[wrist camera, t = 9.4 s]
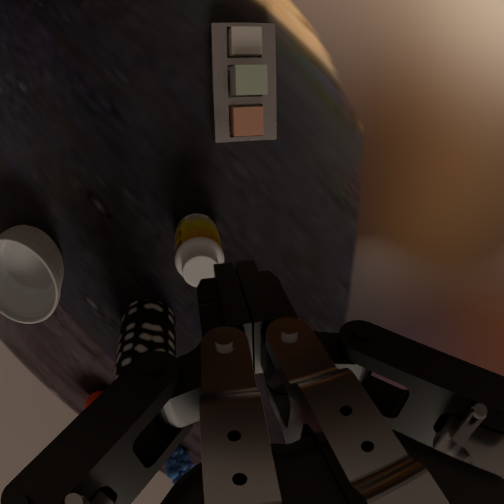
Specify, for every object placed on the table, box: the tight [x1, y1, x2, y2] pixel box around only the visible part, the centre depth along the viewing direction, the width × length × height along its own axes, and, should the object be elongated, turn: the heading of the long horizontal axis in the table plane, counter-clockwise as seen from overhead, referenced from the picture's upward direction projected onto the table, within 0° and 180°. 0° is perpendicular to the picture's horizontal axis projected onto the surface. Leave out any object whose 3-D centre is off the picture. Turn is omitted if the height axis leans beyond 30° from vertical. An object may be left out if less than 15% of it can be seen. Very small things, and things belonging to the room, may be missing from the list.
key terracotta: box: [229, 105, 264, 137], centre depth 34 cm, size 3×3×4 cm
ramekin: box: [0, 225, 64, 324], centre depth 36 cm, size 13×13×7 cm
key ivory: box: [227, 26, 262, 58], centre depth 30 cm, size 3×3×4 cm
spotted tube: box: [113, 299, 177, 381], centre depth 39 cm, size 8×8×20 cm
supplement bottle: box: [175, 213, 224, 287], centre depth 38 cm, size 6×6×10 cm
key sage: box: [230, 65, 268, 95], centre depth 30 cm, size 3×3×4 cm
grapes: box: [164, 446, 194, 484], centre depth 62 cm, size 12×7×12 cm, turn 22°
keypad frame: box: [209, 23, 276, 143], centre depth 33 cm, size 7×14×3 cm, turn 1°
